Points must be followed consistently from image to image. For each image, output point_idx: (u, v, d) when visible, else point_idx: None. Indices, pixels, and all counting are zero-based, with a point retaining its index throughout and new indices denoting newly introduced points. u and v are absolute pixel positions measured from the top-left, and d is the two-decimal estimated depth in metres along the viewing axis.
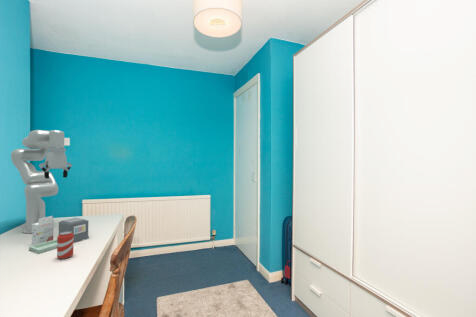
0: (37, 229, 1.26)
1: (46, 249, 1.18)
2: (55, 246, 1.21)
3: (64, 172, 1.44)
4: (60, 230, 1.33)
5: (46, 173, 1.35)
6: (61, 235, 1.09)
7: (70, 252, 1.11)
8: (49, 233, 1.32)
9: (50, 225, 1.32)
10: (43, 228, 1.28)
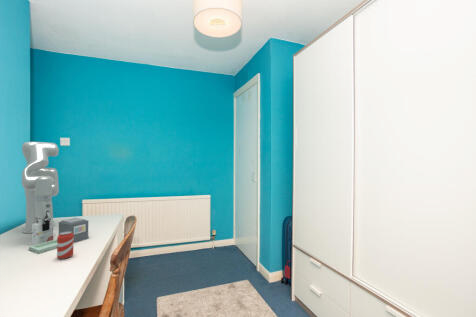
0: (37, 229, 1.26)
1: (46, 249, 1.18)
2: (55, 246, 1.21)
3: None
4: (60, 230, 1.33)
5: None
6: (61, 235, 1.09)
7: (70, 252, 1.11)
8: (49, 233, 1.32)
9: (50, 225, 1.32)
10: None
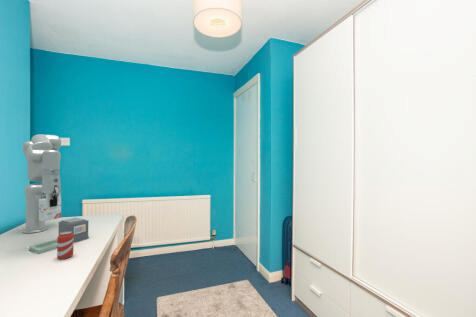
0: (44, 204, 1.19)
1: (46, 249, 1.18)
2: (55, 246, 1.21)
3: None
4: (60, 230, 1.33)
5: None
6: (61, 235, 1.09)
7: (70, 252, 1.11)
8: (57, 209, 1.25)
9: (58, 201, 1.25)
10: None
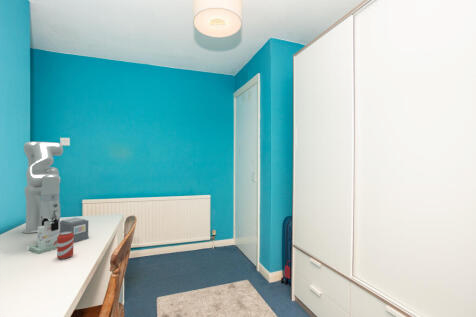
0: (43, 232, 1.19)
1: (46, 249, 1.18)
2: (55, 246, 1.21)
3: None
4: (60, 230, 1.33)
5: None
6: (61, 235, 1.09)
7: (70, 252, 1.11)
8: (56, 236, 1.25)
9: None
10: (50, 231, 1.22)
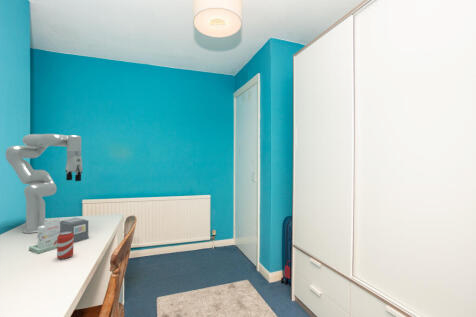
0: (43, 232, 1.19)
1: (46, 249, 1.18)
2: (55, 246, 1.21)
3: None
4: (60, 230, 1.33)
5: None
6: (61, 235, 1.09)
7: (70, 252, 1.11)
8: (56, 236, 1.25)
9: (57, 228, 1.26)
10: (50, 231, 1.22)
